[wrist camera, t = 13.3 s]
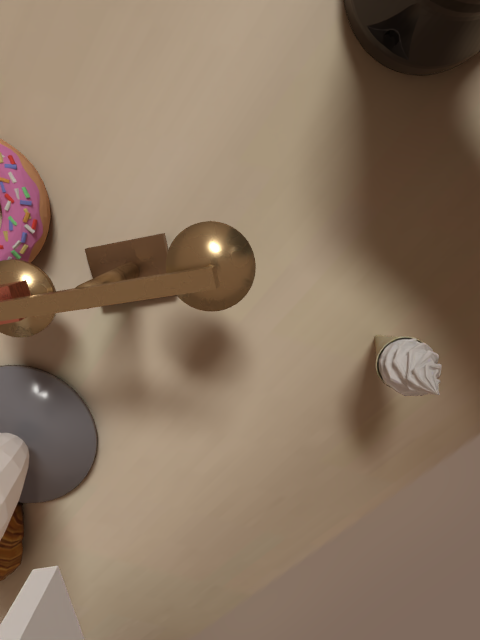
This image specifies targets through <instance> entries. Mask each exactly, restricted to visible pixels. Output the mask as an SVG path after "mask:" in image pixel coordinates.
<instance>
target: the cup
mask: <svg viewBox="0 0 480 640" xmlns="http://www.w3.org/2000/svg"><path fill="white" fill-rule="evenodd" d="M28 465H29V450H28V447H27V445H26V444H25V442H24V441H23V440H22V439H20V438H19V437H18V436H16V435H13V434H10V433H0V540H1V538H2V537H3V535H4V533H5V531H6V528H7V526H8V524H9V522H10V519H11V517H12V515H13V512H14V510H15V508H16V506H17V503H18V501H19V499H20V495H21V492H22V489H23V485H24V481H25V478H26V474H27V470H28Z"/></svg>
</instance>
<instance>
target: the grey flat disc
mask: <svg viewBox="0 0 480 640" xmlns="http://www.w3.org/2000/svg"><path fill="white" fill-rule="evenodd" d="M0 433H10V434H13V435H16V436H18V437H19V438H20V439H22V440H23V441H24V442H25V444H26V445H27V447H28V450H29V465H28V470H27V474H26V478H25V481H24V485H23V489H22V492H21V495H20V499H19V501H18V502H22V503H38V502H45V501H49V500H53V499H56V498H59V497H61V496H63V495H65V494H67V493H68V492H70V491H71V490H73V489H74V488H75V487H76V486H77V485H78V484H80V483H81V481H82V480H83V479H84V478H85V476H86V475H87V473H88V472H89V470H90V468H91V466H92V464H93V462H94V459H95V455H96V451H97V431H96V427H95V423H94V420H93V417H92V415H91V413H90V411H89V409H88V407H87V405H86V404H85V403H84V401H83V400H82V398H81V397H80V396H79V395H78V394H77V393H76V392H75V391H74V390H73V389H72V388H71V387H70V386H69V385H68V384H66V383H65V382H63V381H62V380H60V379H59V378H57V377H55V376H53V375H52V374H50V373H47V372H45V371H42V370H40V369H36V368H32V367H27V366H20V365H6V366H0Z"/></svg>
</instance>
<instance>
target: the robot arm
mask: <svg viewBox="0 0 480 640" xmlns="http://www.w3.org/2000/svg"><path fill="white" fill-rule="evenodd" d="M344 3H345V8H346V13H347V16H348V20H349V22H350V25H351V27H352V30H353V32H354V34H355V36H356V37H357V39H358V41H359V42H360V44H361V45H362V46H363V47H364V49H365V50H366V51H367V52H368V53H369V54H370V55H371V56H372V57H373V58H374V59H376V60H377V61H378V62H380V63H381V64H383V65H384V66H386V67H388V68H390V69H392V70H395V71H398V72H401V73H405V74H411V75H429V74H435V73H439V72H443V71H446V70H449V69H451V68H453V67H456V66H457V65H459V64H461V63H463V62H465V61H466V60H468V59H469V58H471V57H472V56H474V55H475V54H477V53H478V52H479V51H480V0H344ZM0 640H84V636H83V633H82V630H81V628H80V625H79V622H78V619H77V617H76V614H75V611H74V608H73V605H72V603H71V600H70V597H69V594H68V591H67V589H66V586H65V583H64V580H63V577H62V575H61V572H60V569H59V566H52V567H45V568H39V569H33V570H32V572H31V573H30V575H29V577H28V578H27V580H26V582H25V584H24V585H23V587H22V589H21V590H20V592H19V594H18V595H17V597H16V599H15V601H14V602H13V604H12V606H11V607H10V609H9V611H8V613H7V614H6V616H5V618H4V619H3V621H2V623H1V625H0Z"/></svg>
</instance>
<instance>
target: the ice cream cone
mask: <svg viewBox="0 0 480 640" xmlns="http://www.w3.org/2000/svg"><path fill="white" fill-rule="evenodd" d="M375 348H376V371H377V374H378V377H379V378H380V380H381V381H382V382H383V383H384V384H386V385H387V386H389V387H391V388H393V389H394V390H395V391H397V392H399V393H400V394H402V395H404V396H418V395H420V396H422V395H426V394H435V395H439V385H438V384H439V383H440V382H441V381H440V380H438V379H437V378H438V377H439V376H440V375H441V366H442V365H441V364H437V363H438V359H439V355H438V354H437V353H435V352H433V350H432V348H431V347H429V346H428V345H427V344H425V343H424V342H422V341H421V340H419V339H417V338H414V337H407V336H406V337H392V336H381V335H376V336H375Z"/></svg>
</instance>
